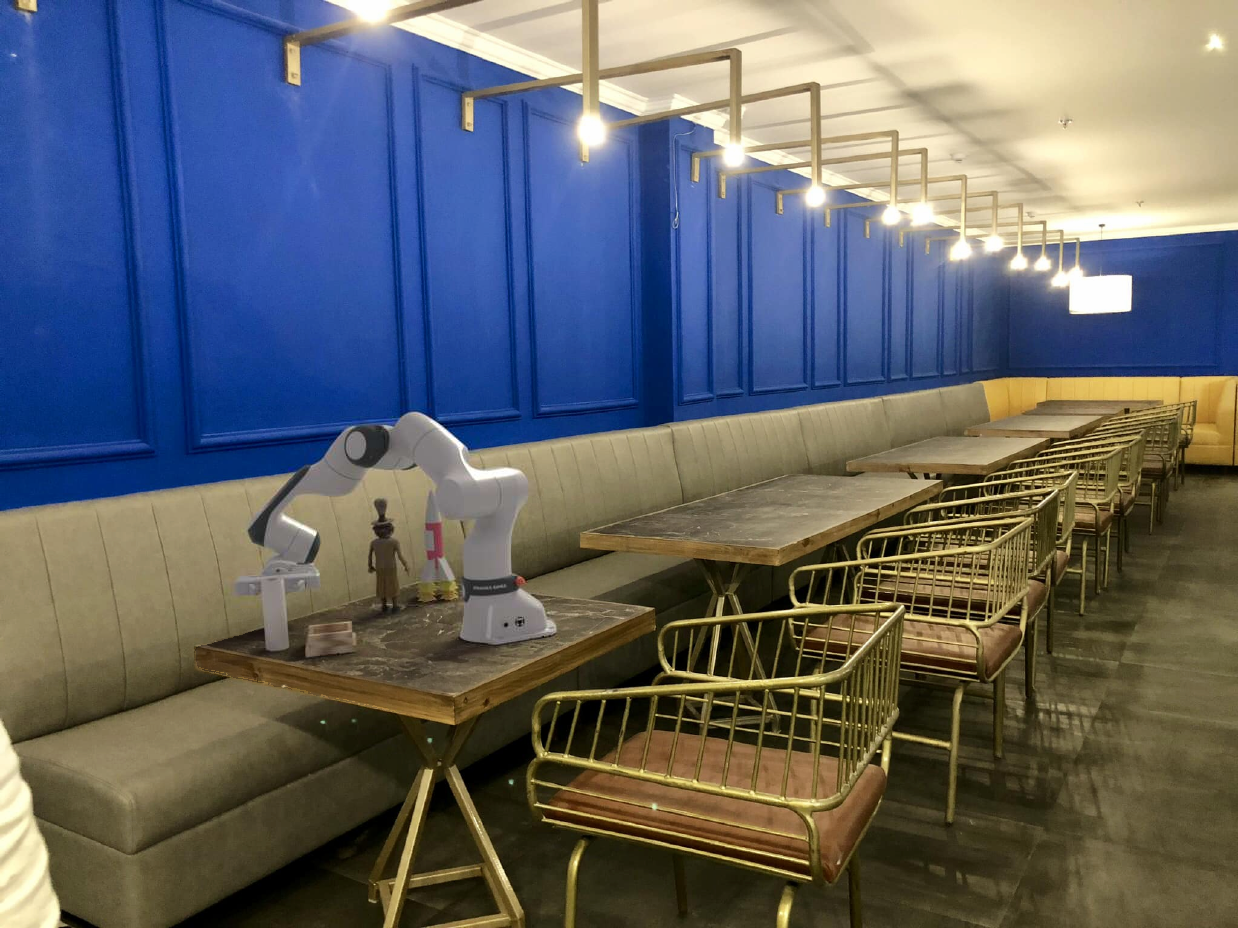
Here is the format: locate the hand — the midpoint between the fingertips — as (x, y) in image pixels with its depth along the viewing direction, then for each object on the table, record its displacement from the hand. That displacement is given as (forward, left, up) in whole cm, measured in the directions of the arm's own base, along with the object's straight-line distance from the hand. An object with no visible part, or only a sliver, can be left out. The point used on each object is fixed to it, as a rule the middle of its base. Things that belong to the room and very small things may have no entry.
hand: (276, 589), depth 239 cm
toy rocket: (-40, -23, -11) cm, 47 cm away
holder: (-12, +17, -11) cm, 24 cm away
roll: (0, +12, -11) cm, 17 cm away
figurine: (-27, -13, -11) cm, 32 cm away
